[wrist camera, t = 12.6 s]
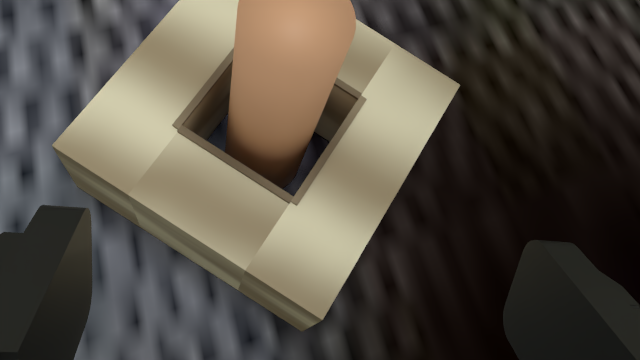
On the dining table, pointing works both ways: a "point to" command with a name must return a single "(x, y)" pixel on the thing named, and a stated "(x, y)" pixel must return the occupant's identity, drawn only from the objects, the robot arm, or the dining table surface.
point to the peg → (283, 79)
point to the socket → (237, 179)
